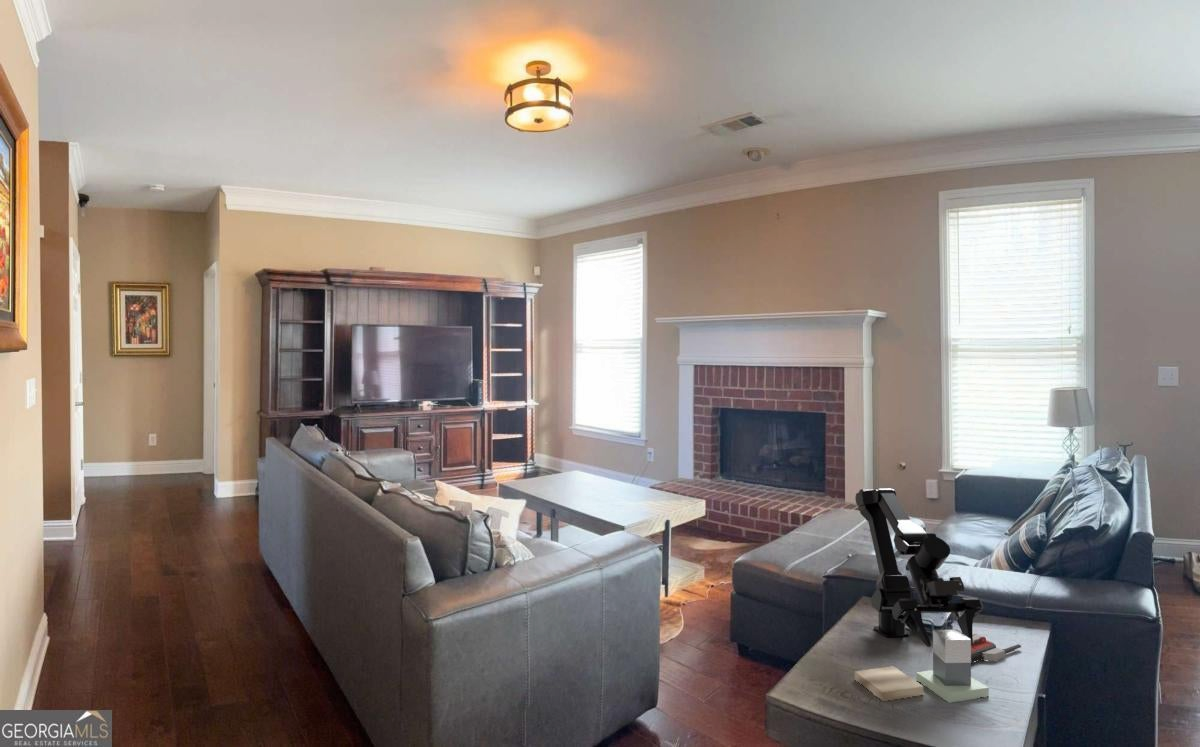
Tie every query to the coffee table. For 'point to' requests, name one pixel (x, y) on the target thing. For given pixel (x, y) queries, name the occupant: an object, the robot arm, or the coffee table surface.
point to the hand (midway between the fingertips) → (950, 646)
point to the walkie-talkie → (988, 650)
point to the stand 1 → (888, 683)
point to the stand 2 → (952, 688)
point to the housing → (952, 657)
